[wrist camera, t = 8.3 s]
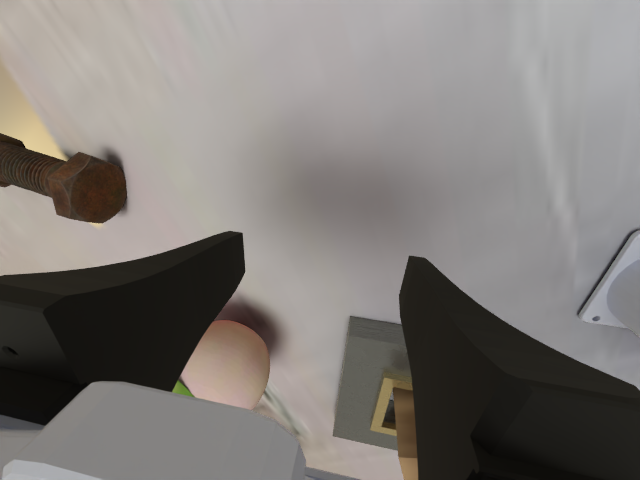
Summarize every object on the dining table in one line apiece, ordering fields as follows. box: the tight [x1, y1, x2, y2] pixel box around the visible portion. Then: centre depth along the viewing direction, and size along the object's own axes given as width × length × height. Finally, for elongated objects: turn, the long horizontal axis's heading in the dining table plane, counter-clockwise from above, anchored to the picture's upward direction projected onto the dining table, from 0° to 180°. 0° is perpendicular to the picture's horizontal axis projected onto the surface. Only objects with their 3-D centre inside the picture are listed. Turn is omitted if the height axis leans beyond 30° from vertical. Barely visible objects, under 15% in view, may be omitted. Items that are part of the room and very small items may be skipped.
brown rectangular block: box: [393, 387, 418, 480], centre depth 25 cm, size 4×4×8 cm
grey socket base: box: [333, 316, 413, 451], centre depth 27 cm, size 16×16×3 cm
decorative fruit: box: [172, 320, 270, 410], centre depth 25 cm, size 9×8×10 cm
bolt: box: [0, 133, 127, 223], centre depth 22 cm, size 6×5×15 cm
